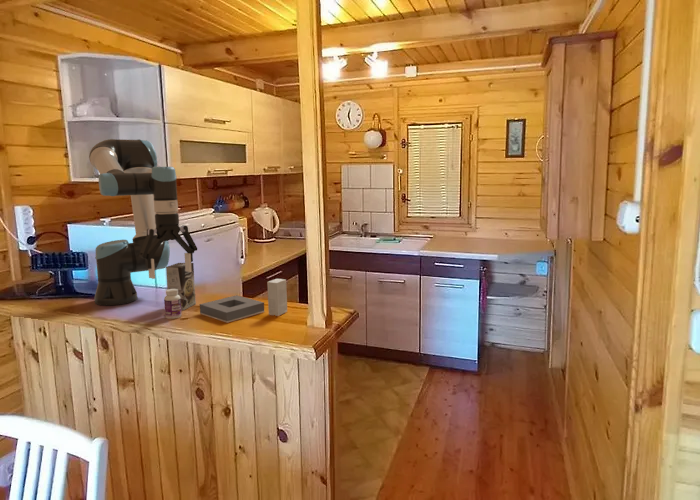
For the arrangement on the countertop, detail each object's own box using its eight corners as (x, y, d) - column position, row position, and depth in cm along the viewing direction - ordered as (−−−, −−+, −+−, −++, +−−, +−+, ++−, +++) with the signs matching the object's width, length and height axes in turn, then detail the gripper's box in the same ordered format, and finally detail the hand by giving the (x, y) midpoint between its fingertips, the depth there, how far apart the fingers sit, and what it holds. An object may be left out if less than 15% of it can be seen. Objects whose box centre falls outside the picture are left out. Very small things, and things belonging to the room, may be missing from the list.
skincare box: (277, 310, 179) (276, 278, 177) (287, 311, 177) (286, 279, 175) (267, 314, 173) (266, 281, 171) (278, 316, 171) (276, 282, 169)
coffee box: (184, 310, 179) (181, 267, 176) (168, 309, 180) (165, 266, 177) (196, 303, 188) (194, 262, 185) (181, 303, 189) (178, 261, 186)
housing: (200, 313, 175) (199, 304, 174) (237, 304, 187) (236, 295, 186) (227, 322, 165) (226, 312, 164) (264, 311, 177) (264, 302, 176)
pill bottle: (174, 319, 168) (172, 292, 166) (162, 318, 170) (160, 291, 168) (184, 315, 173) (183, 288, 171) (172, 314, 175) (170, 287, 173)
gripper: (135, 216, 154) (141, 282, 157) (205, 210, 172) (208, 270, 176) (124, 215, 158) (130, 279, 162) (193, 210, 177) (196, 267, 181)
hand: (170, 274), depth 169 cm, fingers open, 13 cm apart
